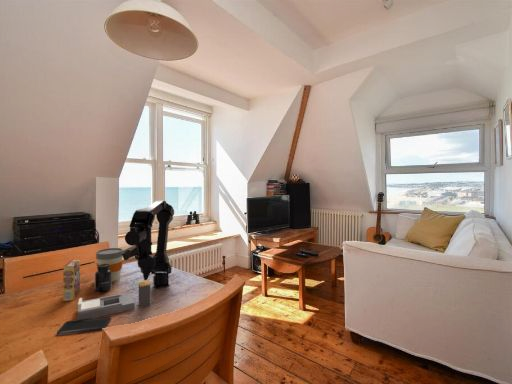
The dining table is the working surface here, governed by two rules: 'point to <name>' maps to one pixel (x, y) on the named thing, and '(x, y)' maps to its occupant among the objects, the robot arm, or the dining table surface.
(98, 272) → the supplement bottle
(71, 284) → the candy box
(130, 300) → the socket plate
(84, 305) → the shutter
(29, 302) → the dining table surface
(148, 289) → the plug
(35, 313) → the dining table surface
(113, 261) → the reusable coffee cup
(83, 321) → the phone
